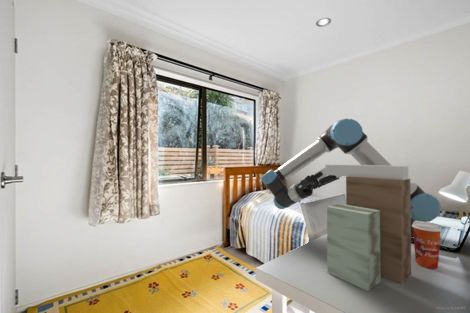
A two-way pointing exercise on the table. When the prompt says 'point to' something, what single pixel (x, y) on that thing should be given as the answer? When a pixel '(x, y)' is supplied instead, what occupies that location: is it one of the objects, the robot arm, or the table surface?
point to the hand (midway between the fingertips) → (340, 168)
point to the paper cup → (426, 243)
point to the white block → (370, 171)
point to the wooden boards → (370, 232)
